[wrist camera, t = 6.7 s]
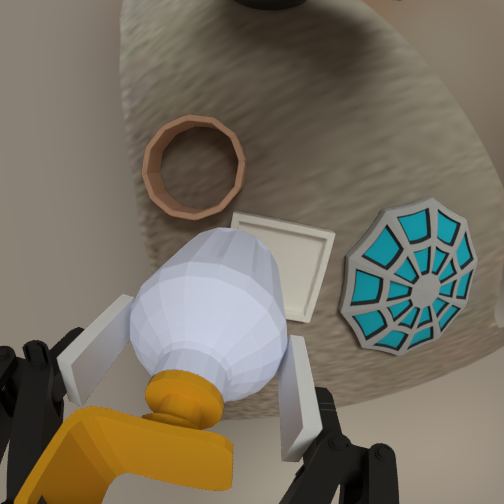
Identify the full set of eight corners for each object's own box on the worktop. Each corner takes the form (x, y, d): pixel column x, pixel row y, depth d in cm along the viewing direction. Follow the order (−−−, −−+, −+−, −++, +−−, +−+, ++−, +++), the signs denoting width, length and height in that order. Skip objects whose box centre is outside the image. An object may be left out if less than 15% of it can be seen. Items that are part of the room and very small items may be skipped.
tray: (235, 210, 41) (233, 212, 38) (331, 230, 41) (335, 233, 38) (220, 299, 45) (217, 306, 43) (307, 315, 45) (309, 322, 43)
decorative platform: (349, 187, 39) (360, 189, 34) (479, 204, 38) (495, 209, 33) (328, 355, 48) (333, 371, 43) (446, 342, 47) (457, 354, 42)
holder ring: (164, 118, 37) (152, 112, 32) (254, 129, 37) (253, 123, 32) (150, 205, 41) (137, 210, 36) (236, 220, 41) (233, 227, 36)
